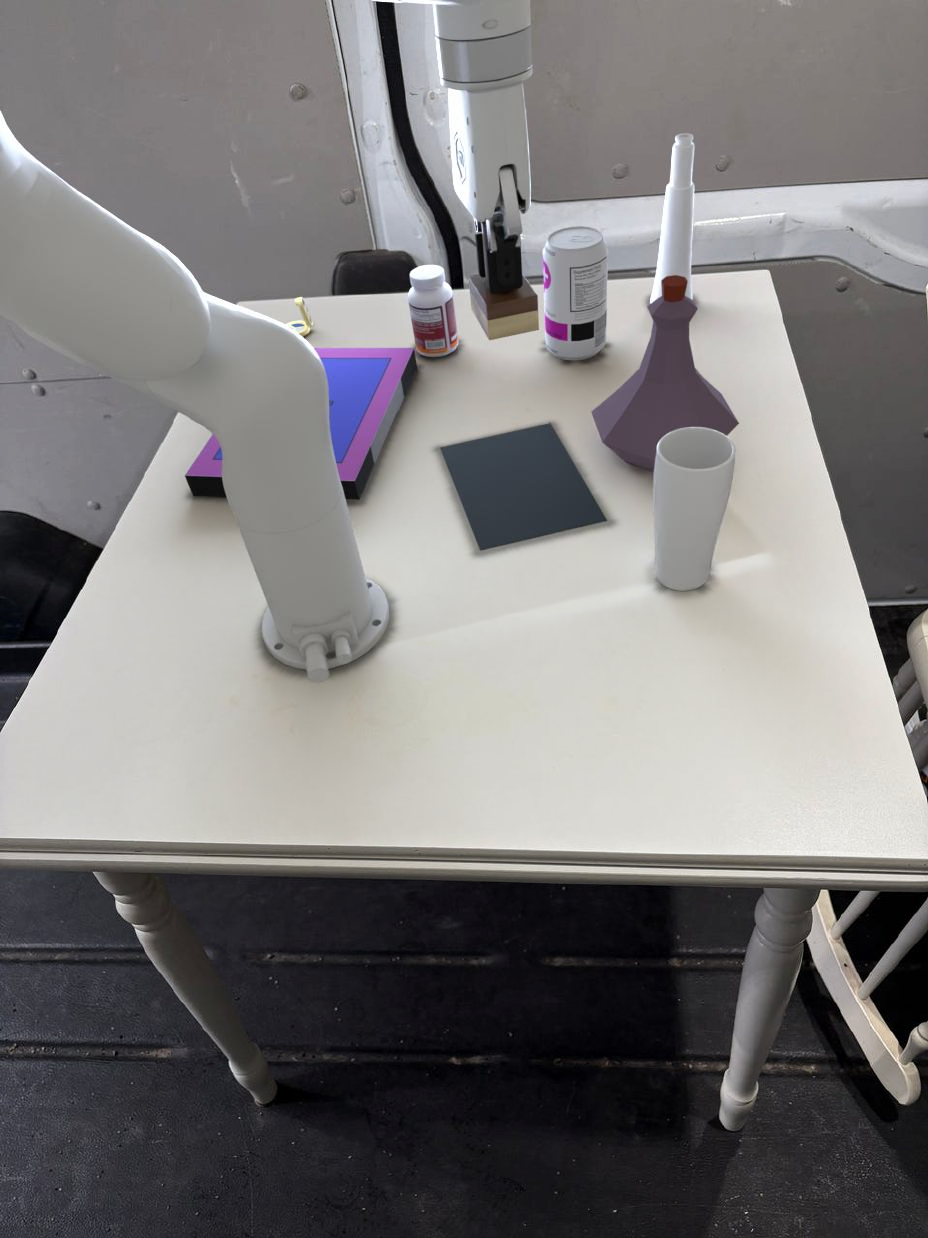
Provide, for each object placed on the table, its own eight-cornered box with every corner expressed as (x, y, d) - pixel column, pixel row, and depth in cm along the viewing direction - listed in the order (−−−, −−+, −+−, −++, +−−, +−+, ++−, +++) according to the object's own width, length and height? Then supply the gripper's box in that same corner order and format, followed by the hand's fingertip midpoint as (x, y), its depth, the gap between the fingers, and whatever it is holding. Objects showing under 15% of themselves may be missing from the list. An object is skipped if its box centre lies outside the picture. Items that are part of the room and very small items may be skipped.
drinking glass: (664, 606, 80) (676, 478, 69) (635, 562, 84) (642, 436, 74) (729, 588, 80) (752, 459, 70) (697, 545, 85) (713, 418, 74)
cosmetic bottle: (701, 302, 121) (719, 134, 105) (668, 315, 119) (681, 146, 103) (673, 288, 125) (687, 124, 109) (641, 301, 123) (650, 136, 107)
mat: (607, 523, 89) (607, 520, 89) (480, 552, 88) (480, 550, 87) (550, 425, 103) (550, 422, 103) (440, 449, 102) (439, 447, 101)
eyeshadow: (280, 327, 129) (272, 296, 125) (312, 322, 129) (305, 290, 126) (281, 340, 126) (273, 309, 122) (314, 334, 126) (306, 303, 122)
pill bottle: (441, 332, 122) (431, 257, 115) (467, 346, 119) (459, 269, 111) (407, 349, 120) (395, 273, 112) (433, 363, 116) (422, 286, 109)
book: (414, 347, 114) (354, 480, 94) (417, 367, 116) (359, 502, 96) (270, 347, 118) (184, 475, 98) (276, 367, 120) (193, 495, 100)
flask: (576, 484, 94) (575, 316, 80) (603, 405, 105) (607, 244, 90) (727, 500, 90) (755, 324, 75) (739, 415, 100) (766, 247, 86)
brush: (539, 329, 81) (535, 228, 74) (489, 340, 80) (480, 239, 73) (518, 299, 85) (513, 202, 79) (471, 309, 85) (462, 212, 78)
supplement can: (540, 361, 114) (535, 250, 103) (553, 331, 119) (550, 223, 109) (599, 364, 112) (601, 251, 101) (610, 334, 117) (613, 224, 106)
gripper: (419, 43, 72) (443, 257, 85) (463, 89, 61) (484, 327, 74) (502, 29, 73) (514, 243, 86) (562, 71, 62) (565, 310, 75)
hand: (500, 279), depth 80 cm, fingers closed on brush, 3 cm apart
